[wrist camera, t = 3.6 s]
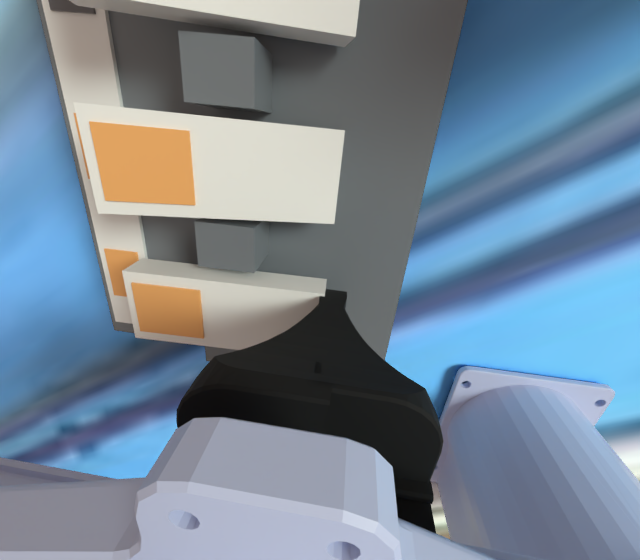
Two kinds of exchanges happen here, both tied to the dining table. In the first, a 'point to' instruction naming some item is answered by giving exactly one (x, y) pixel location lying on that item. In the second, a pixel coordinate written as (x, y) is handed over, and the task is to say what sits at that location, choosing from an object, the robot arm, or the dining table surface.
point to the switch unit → (274, 107)
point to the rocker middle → (209, 166)
